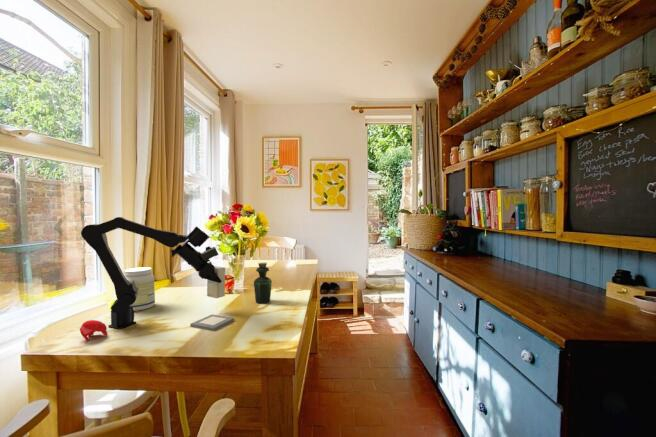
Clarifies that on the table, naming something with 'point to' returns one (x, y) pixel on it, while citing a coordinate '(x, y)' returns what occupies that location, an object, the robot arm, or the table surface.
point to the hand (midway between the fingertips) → (219, 280)
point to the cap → (92, 328)
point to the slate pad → (212, 322)
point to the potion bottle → (262, 285)
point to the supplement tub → (142, 287)
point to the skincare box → (217, 284)
